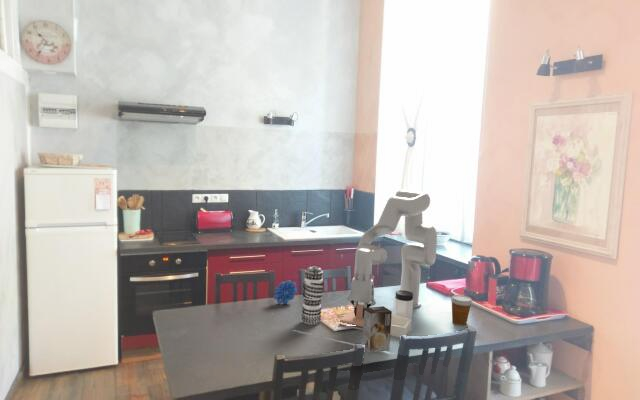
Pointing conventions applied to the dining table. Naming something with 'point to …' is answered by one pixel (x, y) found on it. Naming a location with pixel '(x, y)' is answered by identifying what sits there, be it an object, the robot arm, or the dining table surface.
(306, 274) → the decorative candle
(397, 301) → the jar
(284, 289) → the grapes
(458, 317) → the disposable coffee cup
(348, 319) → the lid
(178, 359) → the dining table surface
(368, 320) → the coffee box
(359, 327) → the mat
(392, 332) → the dish
